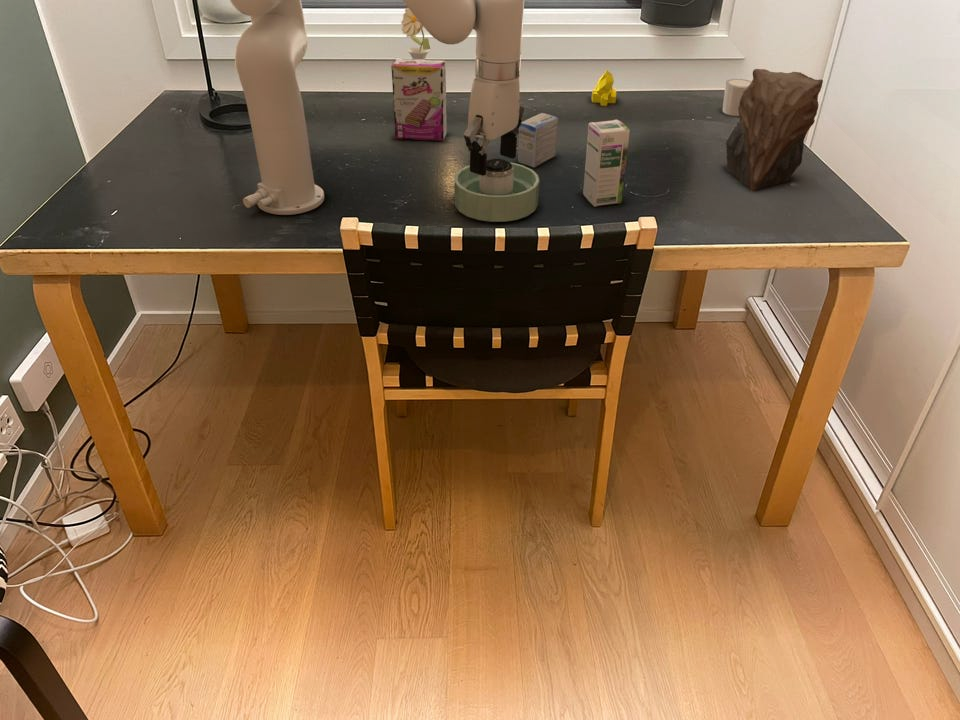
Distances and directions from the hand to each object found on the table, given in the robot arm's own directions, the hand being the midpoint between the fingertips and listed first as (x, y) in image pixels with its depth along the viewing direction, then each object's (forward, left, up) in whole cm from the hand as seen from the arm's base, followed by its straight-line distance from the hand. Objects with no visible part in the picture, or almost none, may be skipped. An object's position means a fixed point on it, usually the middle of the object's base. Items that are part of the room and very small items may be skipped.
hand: (493, 164), depth 136 cm
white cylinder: (+76, -20, -8) cm, 79 cm away
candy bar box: (+19, +32, -8) cm, 39 cm away
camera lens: (0, -1, -8) cm, 8 cm away
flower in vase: (+33, +43, -8) cm, 55 cm away
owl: (+41, -37, -8) cm, 56 cm away
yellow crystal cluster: (+65, +10, -8) cm, 67 cm away
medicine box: (+23, +4, -8) cm, 25 cm away
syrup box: (+14, -16, -8) cm, 23 cm away
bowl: (0, -1, -8) cm, 8 cm away
